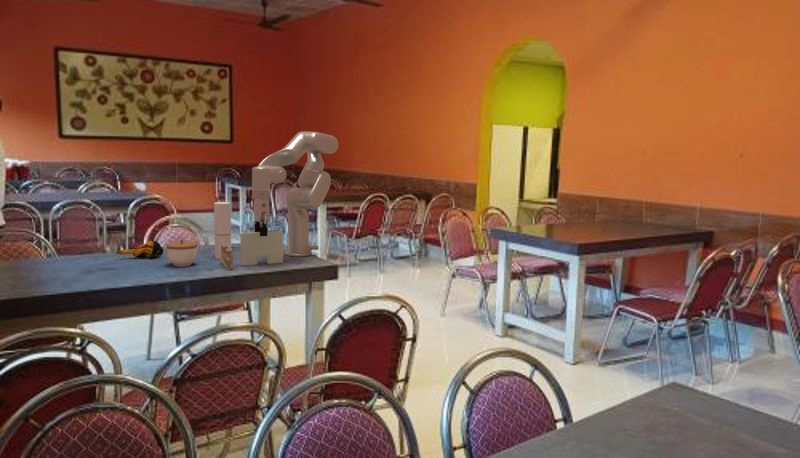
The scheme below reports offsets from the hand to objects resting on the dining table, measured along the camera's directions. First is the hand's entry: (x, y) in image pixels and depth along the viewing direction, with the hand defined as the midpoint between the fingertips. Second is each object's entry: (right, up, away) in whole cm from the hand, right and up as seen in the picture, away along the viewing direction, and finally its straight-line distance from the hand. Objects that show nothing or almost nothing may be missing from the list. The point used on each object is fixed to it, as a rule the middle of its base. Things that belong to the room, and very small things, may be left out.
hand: (260, 234), depth 266 cm
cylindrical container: (-20, -11, +14) cm, 27 cm away
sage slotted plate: (0, -13, +2) cm, 13 cm away
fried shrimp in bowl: (-55, -11, +8) cm, 57 cm away
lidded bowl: (-33, -13, -3) cm, 36 cm away
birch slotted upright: (-14, -14, -4) cm, 20 cm away
